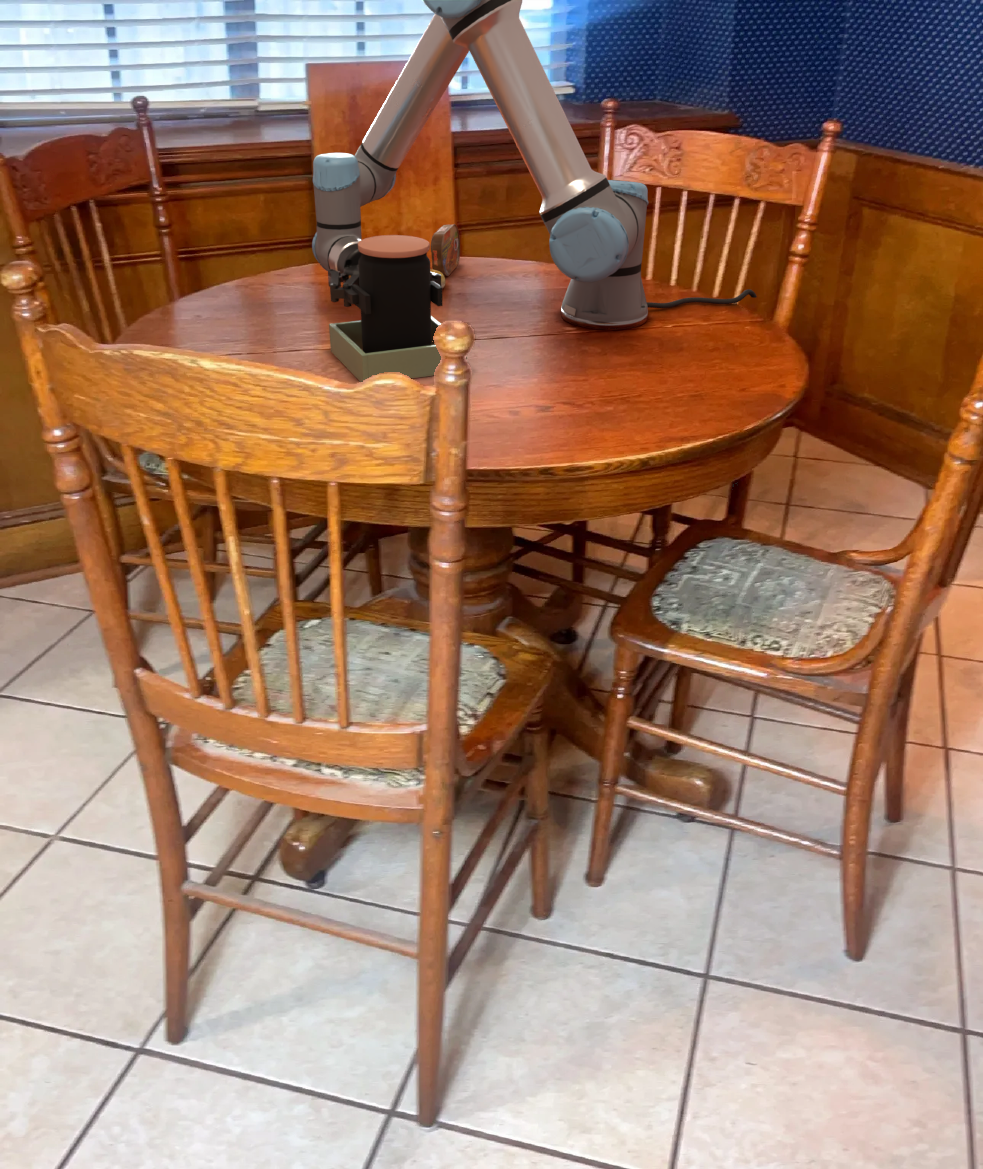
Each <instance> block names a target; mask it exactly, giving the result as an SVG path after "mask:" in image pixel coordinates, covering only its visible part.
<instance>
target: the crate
mask: <svg viewBox="0 0 983 1169" xmlns="http://www.w3.org/2000/svg"><path fill="white" fill-rule="evenodd" d="M441 324H442V323H441V322H440V321H438V320H437V319H436V318H435V317H433V316H432V315H431V345H429V346H421V347H413V348H405V349H397V350H389V351H381V352H373V353H365V352H363V348H362V327H361V319H360V320H352V321H350V320H349V321H342V322H334V323H333V322H332V323H328V330H329V332H328V333H329V345H330V353H332V354H333V356H335V358H336V359H337V360H338V361H339V362H340V363H341V364H342V365H343V366H344V367H345V368H346V369H347V370H348V371H349V372H350V373H351V374H352V375H353V376H354V377H355V378H356V379H357V380H358V381H359V382H360V383H361V382H363V380H365V379H367V378H369V377H371V376H372V375H377V374H379V373H384V372H400V373H402V374H404V375H407V376H409V377H410V378H412V379H418V378H426V377H427V378H428V377H433V375H434V372H435V369H436V367H437V366H438V364H439V363H440V360H441V356H440V354H439V352H438V350H437V348H436V345H435V344H434V340H433V336H434V333H435V331H436V328H437V327H438V326H439V325H441ZM432 341H433V342H432ZM466 359H467V360H468V356H467V357H466ZM434 376H435V375H434Z"/></svg>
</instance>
